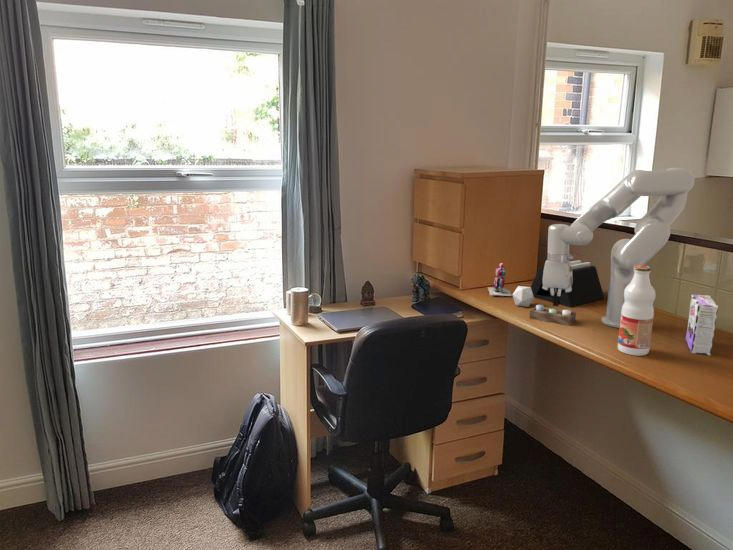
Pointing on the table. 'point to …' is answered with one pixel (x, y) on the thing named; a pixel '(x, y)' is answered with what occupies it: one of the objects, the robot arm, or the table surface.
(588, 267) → the device stand
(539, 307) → the slate blue button
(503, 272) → the statue
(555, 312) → the sage button
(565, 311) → the cream button
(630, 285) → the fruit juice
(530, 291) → the die
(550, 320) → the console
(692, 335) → the candy box
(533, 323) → the table surface
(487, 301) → the table surface
